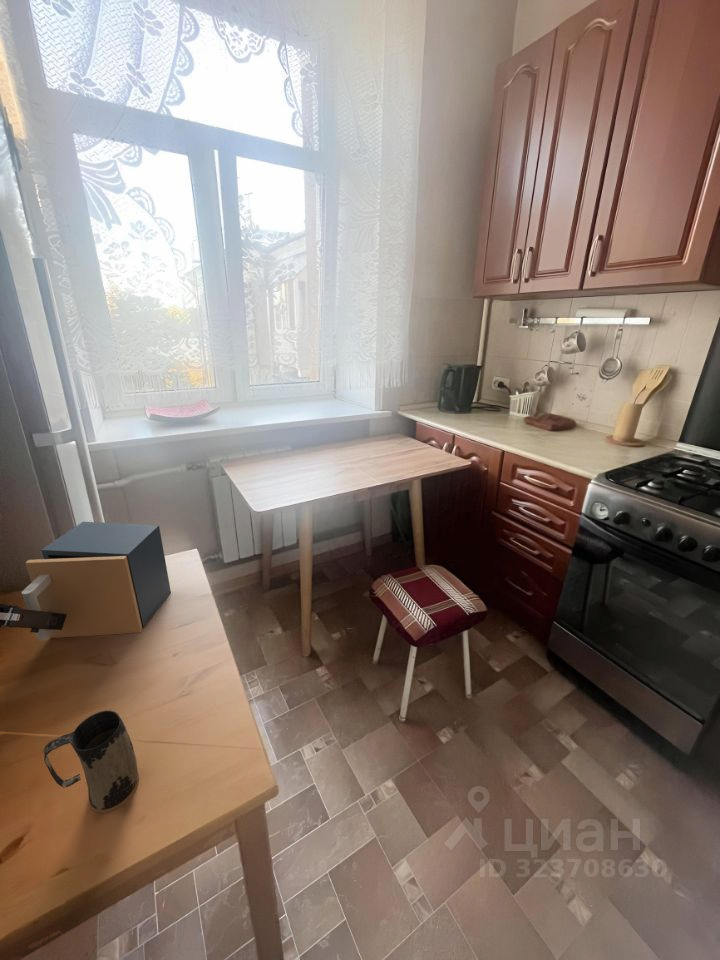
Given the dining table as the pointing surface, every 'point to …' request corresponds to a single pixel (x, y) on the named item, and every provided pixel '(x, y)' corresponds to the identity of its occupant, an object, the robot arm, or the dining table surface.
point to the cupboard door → (84, 595)
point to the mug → (101, 760)
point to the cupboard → (122, 541)
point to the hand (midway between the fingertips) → (53, 621)
